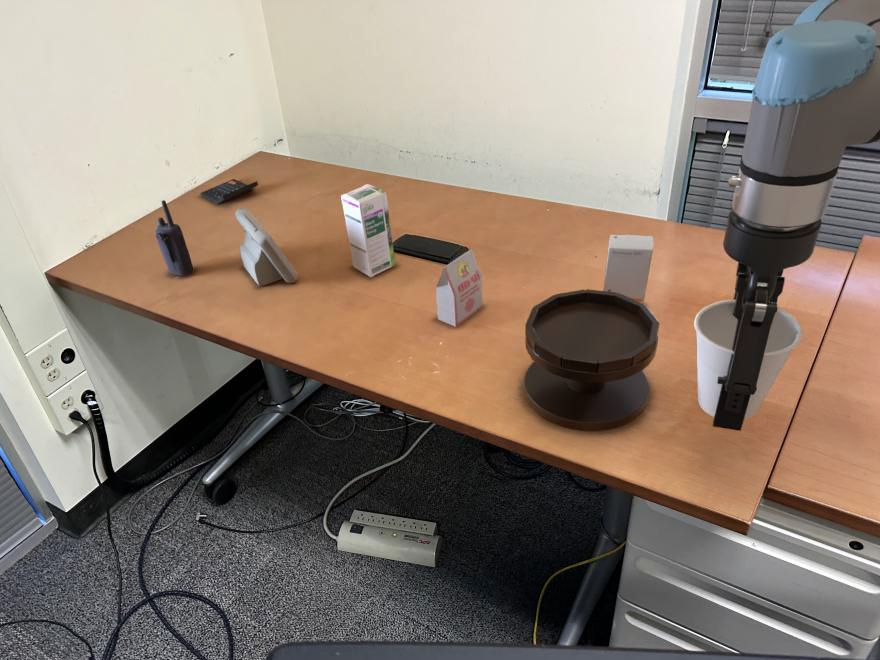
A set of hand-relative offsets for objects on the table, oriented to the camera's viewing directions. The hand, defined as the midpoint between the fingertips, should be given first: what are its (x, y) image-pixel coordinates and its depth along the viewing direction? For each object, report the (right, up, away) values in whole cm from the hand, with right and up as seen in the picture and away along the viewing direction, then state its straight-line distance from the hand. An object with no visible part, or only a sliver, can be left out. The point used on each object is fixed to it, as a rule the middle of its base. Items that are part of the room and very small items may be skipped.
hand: (728, 399), depth 77 cm
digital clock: (-59, +23, +53) cm, 82 cm away
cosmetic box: (-1, +13, +29) cm, 31 cm away
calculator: (-73, +46, +83) cm, 119 cm away
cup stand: (-11, +1, +16) cm, 19 cm away
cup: (0, -1, +1) cm, 1 cm away
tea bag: (-26, +13, +34) cm, 44 cm away
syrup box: (-39, +23, +49) cm, 67 cm away
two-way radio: (-77, +23, +56) cm, 98 cm away
